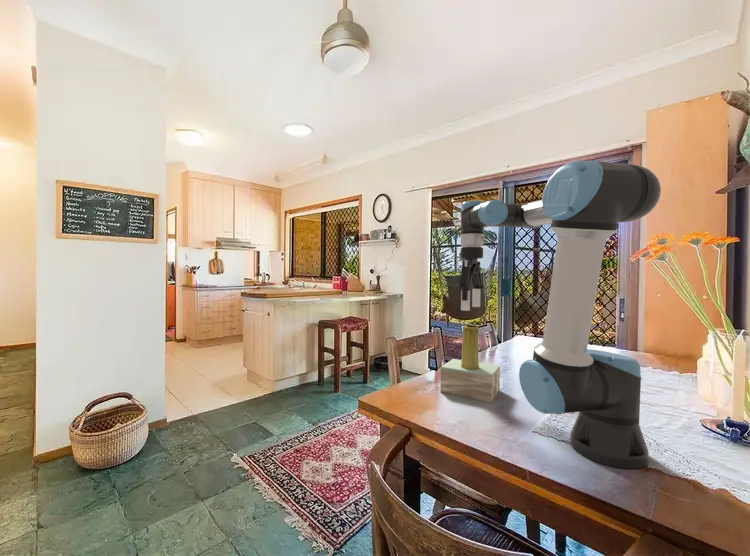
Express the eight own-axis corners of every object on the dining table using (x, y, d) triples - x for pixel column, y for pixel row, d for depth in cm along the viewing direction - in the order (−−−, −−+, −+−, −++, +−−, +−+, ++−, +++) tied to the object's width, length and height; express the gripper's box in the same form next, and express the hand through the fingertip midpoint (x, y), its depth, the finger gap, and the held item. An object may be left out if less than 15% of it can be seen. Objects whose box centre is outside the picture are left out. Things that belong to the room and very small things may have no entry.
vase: (477, 364, 121) (478, 324, 120) (480, 369, 115) (481, 327, 114) (459, 364, 121) (460, 324, 121) (462, 369, 115) (463, 327, 115)
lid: (491, 377, 109) (491, 374, 109) (441, 368, 118) (441, 366, 118) (499, 367, 120) (499, 365, 120) (452, 360, 129) (452, 358, 129)
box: (491, 402, 109) (491, 377, 109) (440, 392, 118) (440, 369, 118) (499, 390, 120) (499, 367, 120) (452, 381, 129) (452, 360, 129)
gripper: (473, 244, 105) (472, 313, 105) (491, 248, 126) (490, 306, 126) (449, 244, 108) (448, 311, 109) (470, 249, 130) (470, 304, 130)
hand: (471, 308), depth 118 cm, fingers open, 13 cm apart
